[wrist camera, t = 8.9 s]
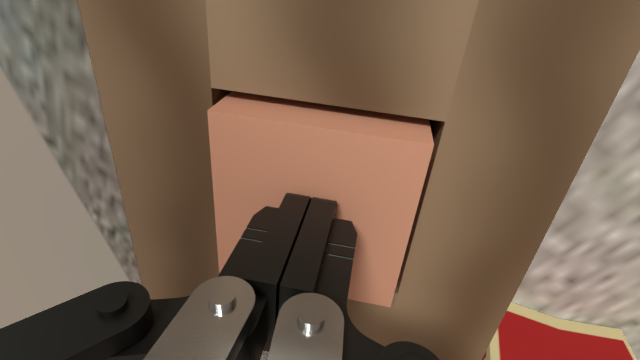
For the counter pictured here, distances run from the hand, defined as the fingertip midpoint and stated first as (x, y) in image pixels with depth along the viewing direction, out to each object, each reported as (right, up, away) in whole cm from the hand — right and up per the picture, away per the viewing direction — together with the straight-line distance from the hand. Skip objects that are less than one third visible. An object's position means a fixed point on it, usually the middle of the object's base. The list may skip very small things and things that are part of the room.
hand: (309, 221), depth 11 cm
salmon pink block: (+1, +2, +3) cm, 4 cm away
